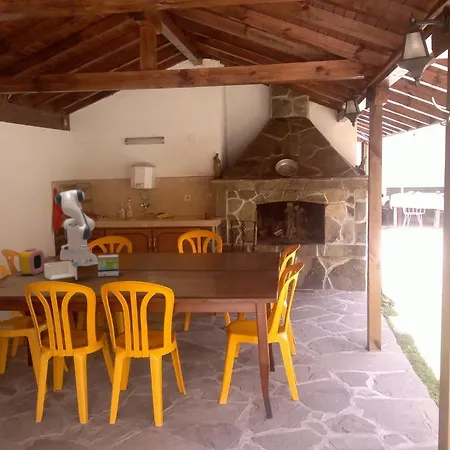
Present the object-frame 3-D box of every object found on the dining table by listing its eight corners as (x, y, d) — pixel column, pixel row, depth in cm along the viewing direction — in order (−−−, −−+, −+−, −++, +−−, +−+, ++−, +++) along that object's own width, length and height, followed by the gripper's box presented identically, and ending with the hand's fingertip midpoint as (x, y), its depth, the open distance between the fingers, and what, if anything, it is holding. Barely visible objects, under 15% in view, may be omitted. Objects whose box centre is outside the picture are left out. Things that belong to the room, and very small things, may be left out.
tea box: (98, 277, 364) (97, 257, 363) (98, 274, 374) (97, 255, 373) (119, 275, 367) (118, 256, 366) (119, 273, 377) (118, 253, 376)
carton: (68, 273, 380) (67, 260, 379) (75, 276, 369) (74, 263, 368) (44, 277, 369) (43, 263, 368) (50, 280, 358) (49, 266, 357)
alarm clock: (32, 276, 373) (30, 250, 371) (19, 276, 375) (17, 250, 373) (45, 271, 391) (44, 247, 389) (33, 271, 393) (31, 246, 391)
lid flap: (72, 275, 367) (71, 259, 366) (76, 275, 368) (75, 259, 367) (74, 280, 352) (73, 263, 350) (78, 279, 352) (77, 263, 351)
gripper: (88, 244, 359) (89, 263, 361) (59, 246, 351) (60, 265, 353) (89, 245, 353) (91, 264, 355) (59, 247, 346) (61, 267, 347)
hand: (75, 265), depth 354 cm, fingers closed on lid flap, 2 cm apart
